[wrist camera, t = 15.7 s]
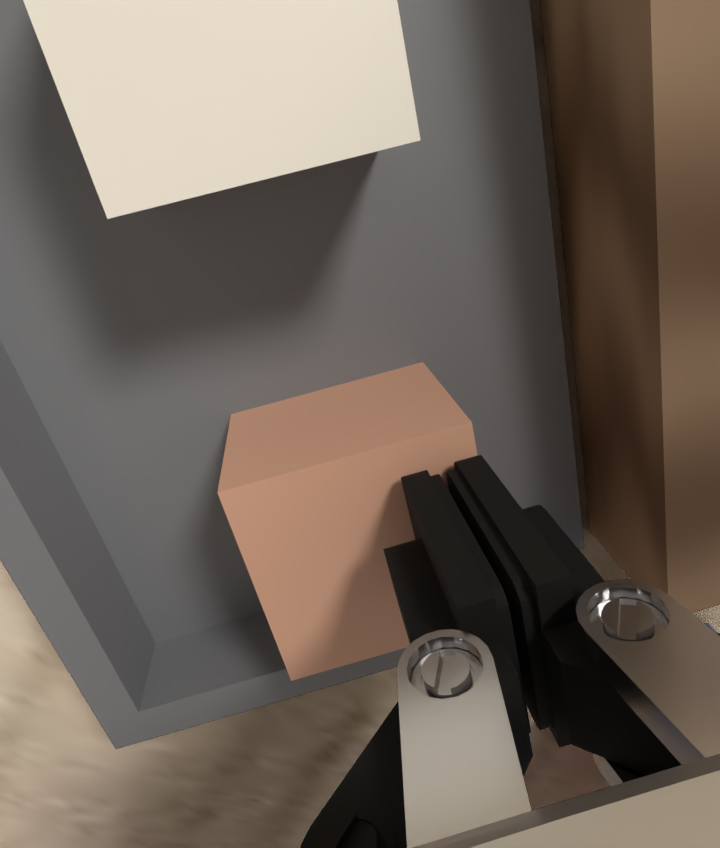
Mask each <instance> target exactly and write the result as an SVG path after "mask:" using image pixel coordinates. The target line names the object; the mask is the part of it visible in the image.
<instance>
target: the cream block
mask: <svg viewBox="0 0 720 848" xmlns="http://www.w3.org/2000/svg"><path fill="white" fill-rule="evenodd" d="M23 1H24V4H25V7H26V9H27V12H28V14H29V17H30V20H31V22H32V25H33V27H34V30H35V32H36V35H37V38H38V40H39V43H40V45H41V48H42V51H43V53H44V56H45V58H46V61H47V64H48V66H49V69H50V71H51V74H52V77H53V79H54V82H55V84H56V87H57V90H58V92H59V95H60V97H61V100H62V103H63V105H64V108H65V110H66V113H67V115H68V118H69V121H70V123H71V126H72V128H73V131H74V134H75V136H76V139H77V141H78V144H79V147H80V149H81V152H82V154H83V157H84V160H85V162H86V165H87V167H88V170H89V173H90V175H91V178H92V180H93V183H94V186H95V188H96V191H97V193H98V196H99V198H100V201H101V204H102V206H103V209H104V211H105V214H106V217H107V219H110V218H114V217H118V216H121V215H125V214H129V213H133V212H137V211H141V210H145V209H149V208H153V207H157V206H161V205H165V204H169V203H173V202H177V201H181V200H185V199H189V198H193V197H197V196H201V195H205V194H209V193H213V192H217V191H221V190H225V189H229V188H233V187H237V186H241V185H245V184H249V183H253V182H257V181H261V180H265V179H269V178H273V177H277V176H281V175H285V174H289V173H293V172H297V171H301V170H305V169H309V168H313V167H317V166H321V165H325V164H329V163H333V162H337V161H340V160H344V159H348V158H352V157H356V156H360V155H364V154H368V153H372V152H376V151H380V150H384V149H388V148H392V147H396V146H400V145H404V144H408V143H412V142H416V141H420V140H421V139H420V134H419V128H418V122H417V116H416V110H415V104H414V98H413V92H412V86H411V80H410V74H409V68H408V62H407V56H406V50H405V44H404V38H403V32H402V26H401V20H400V14H399V8H398V2H397V0H23Z"/></svg>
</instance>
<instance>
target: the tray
mask: <svg viewBox="0 0 720 848" xmlns="http://www.w3.org/2000/svg"><path fill="white" fill-rule="evenodd" d="M397 2H398V8H399V14H400V20H401V26H402V32H403V38H404V44H405V50H406V56H407V62H408V68H409V74H410V80H411V86H412V92H413V98H414V104H415V110H416V116H417V122H418V128H419V134H420V139H421V140H420V141H416V142H412V143H408V144H404V145H400V146H396V147H392V148H388V149H384V150H380V151H376V152H372V153H368V154H364V155H360V156H356V157H352V158H348V159H344V160H340V161H337V162H333V163H329V164H325V165H321V166H317V167H313V168H309V169H305V170H301V171H297V172H293V173H289V174H285V175H281V176H277V177H273V178H269V179H265V180H261V181H257V182H253V183H249V184H245V185H241V186H237V187H233V188H229V189H225V190H221V191H217V192H213V193H209V194H205V195H201V196H197V197H193V198H189V199H185V200H181V201H177V202H173V203H169V204H165V205H161V206H157V207H153V208H149V209H145V210H141V211H137V212H133V213H129V214H125V215H121V216H118V217H114V218H110V219H107V217H106V214H105V211H104V209H103V206H102V204H101V201H100V198H99V196H98V193H97V191H96V188H95V186H94V183H93V180H92V178H91V175H90V173H89V170H88V167H87V165H86V162H85V160H84V157H83V154H82V152H81V149H80V147H79V144H78V141H77V139H76V136H75V134H74V131H73V128H72V126H71V123H70V121H69V118H68V115H67V113H66V110H65V108H64V105H63V103H62V100H61V97H60V95H59V92H58V90H57V87H56V84H55V82H54V79H53V77H52V74H51V71H50V69H49V66H48V64H47V61H46V58H45V56H44V53H43V51H42V48H41V45H40V43H39V40H38V38H37V35H36V32H35V30H34V27H33V25H32V22H31V20H30V17H29V14H28V12H27V9H26V7H25V4H24V1H23V0H0V560H1V562H2V563H3V565H4V567H5V568H6V570H7V571H8V573H9V575H10V576H11V578H12V580H13V581H14V583H15V585H16V586H17V588H18V590H19V591H20V593H21V594H22V596H23V598H24V599H25V601H26V603H27V604H28V606H29V608H30V609H31V611H32V613H33V614H34V616H35V617H36V619H37V621H38V622H39V624H40V626H41V627H42V629H43V631H44V632H45V634H46V635H47V637H48V639H49V640H50V642H51V644H52V645H53V647H54V649H55V650H56V652H57V654H58V655H59V657H60V658H61V660H62V662H63V663H64V665H65V667H66V668H67V670H68V672H69V673H70V675H71V677H72V678H73V680H74V681H75V683H76V685H77V686H78V688H79V690H80V691H81V693H82V695H83V696H84V698H85V699H86V701H87V703H88V704H89V706H90V708H91V709H92V711H93V713H94V714H95V716H96V718H97V719H98V721H99V722H100V724H101V726H102V727H103V729H104V731H105V732H106V734H107V736H108V737H109V739H110V741H111V742H112V744H113V745H114V747H115V749H118V748H122V747H125V746H128V745H132V744H135V743H139V742H142V741H146V740H149V739H152V738H156V737H159V736H163V735H166V734H169V733H173V732H176V731H180V730H183V729H186V728H190V727H193V726H197V725H200V724H203V723H207V722H210V721H214V720H217V719H221V718H224V717H227V716H231V715H234V714H238V713H241V712H244V711H248V710H251V709H255V708H258V707H261V706H265V705H268V704H272V703H275V702H279V701H282V700H285V699H289V698H292V697H296V696H299V695H302V694H306V693H309V692H313V691H316V690H319V689H323V688H326V687H330V686H333V685H337V684H340V683H343V682H347V681H350V680H354V679H357V678H360V677H364V676H367V675H371V674H374V673H377V672H381V671H384V670H388V669H391V668H395V667H398V661H399V659H400V658H401V656H402V654H403V652H404V650H405V649H406V648H403V649H400V650H396V651H393V652H389V653H386V654H382V655H379V656H376V657H372V658H369V659H365V660H362V661H358V662H355V663H351V664H348V665H344V666H341V667H338V668H334V669H331V670H327V671H324V672H320V673H317V674H313V675H310V676H306V677H303V678H300V679H296V680H293V681H291V679H290V676H289V674H288V671H287V669H286V666H285V664H284V661H283V659H282V656H281V654H280V651H279V648H278V646H277V643H276V641H275V638H274V636H273V633H272V631H271V628H270V626H269V623H268V620H267V618H266V615H265V613H264V610H263V608H262V605H261V603H260V600H259V598H258V595H257V592H256V590H255V587H254V585H253V582H252V580H251V577H250V575H249V572H248V570H247V567H246V564H245V562H244V559H243V557H242V554H241V552H240V549H239V547H238V544H237V542H236V539H235V536H234V534H233V531H232V529H231V526H230V524H229V521H228V519H227V516H226V514H225V511H224V508H223V506H222V503H221V501H220V498H219V496H218V493H217V492H218V486H219V480H220V474H221V469H222V463H223V457H224V451H225V446H226V440H227V434H228V429H229V423H230V417H231V414H234V413H238V412H242V411H245V410H249V409H253V408H256V407H260V406H264V405H267V404H271V403H275V402H278V401H282V400H286V399H289V398H293V397H297V396H300V395H304V394H307V393H311V392H315V391H318V390H322V389H326V388H329V387H333V386H337V385H340V384H344V383H348V382H351V381H355V380H359V379H362V378H366V377H370V376H373V375H377V374H381V373H384V372H388V371H392V370H395V369H399V368H403V367H406V366H410V365H413V364H417V363H421V362H423V363H424V364H425V365H426V366H427V368H428V369H429V370H430V371H431V373H432V374H433V375H434V376H435V377H436V379H437V380H438V381H439V382H440V384H441V385H442V386H443V387H444V388H445V390H446V391H447V392H448V393H449V395H450V396H451V397H452V398H453V400H454V401H455V402H456V403H457V404H458V406H459V407H460V408H461V409H462V411H463V412H464V413H465V414H466V416H467V417H468V418H469V419H470V420H471V422H472V426H473V432H474V438H475V443H476V449H477V455H482V456H483V458H484V459H485V460H486V462H487V463H488V464H489V466H490V467H491V468H492V470H493V471H494V472H495V474H496V475H497V476H498V478H499V479H500V480H501V482H502V483H503V484H504V486H505V487H506V488H507V490H508V491H509V492H510V494H511V495H512V496H513V498H514V499H515V500H516V502H517V503H518V504H519V506H520V507H521V508H522V509H525V508H528V507H532V506H535V505H542V506H543V507H544V508H545V509H546V510H547V512H548V513H549V514H550V515H551V517H552V518H553V519H554V520H555V521H556V523H557V524H558V525H559V526H560V527H561V529H562V530H563V531H564V532H565V534H566V535H567V536H568V537H569V538H570V540H571V541H572V542H573V543H574V545H575V546H576V547H577V548H578V549H581V548H584V539H583V529H582V519H581V509H580V499H579V489H578V479H577V469H576V459H575V449H574V439H573V430H572V420H571V410H570V400H569V390H568V380H567V370H566V360H565V350H564V340H563V330H562V320H561V310H560V300H559V290H558V280H557V270H556V260H555V250H554V240H553V230H552V220H551V210H550V200H549V190H548V180H547V170H546V160H545V150H544V140H543V130H542V120H541V110H540V100H539V90H538V80H537V70H536V60H535V50H534V40H533V30H532V20H531V10H530V0H397Z"/></svg>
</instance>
